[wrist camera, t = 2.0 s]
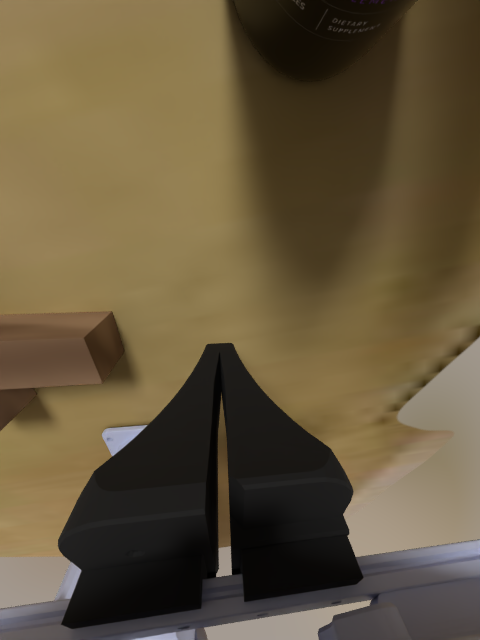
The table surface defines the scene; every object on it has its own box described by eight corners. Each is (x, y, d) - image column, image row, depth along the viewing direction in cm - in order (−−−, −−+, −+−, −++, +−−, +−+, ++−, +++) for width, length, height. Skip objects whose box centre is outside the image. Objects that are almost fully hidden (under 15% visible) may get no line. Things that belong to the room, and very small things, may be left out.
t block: (136, 388, 15) (119, 424, 13) (-9, 397, 15) (-59, 437, 12) (93, 252, 11) (53, 264, 8) (-123, 253, 10) (-248, 267, 7)
